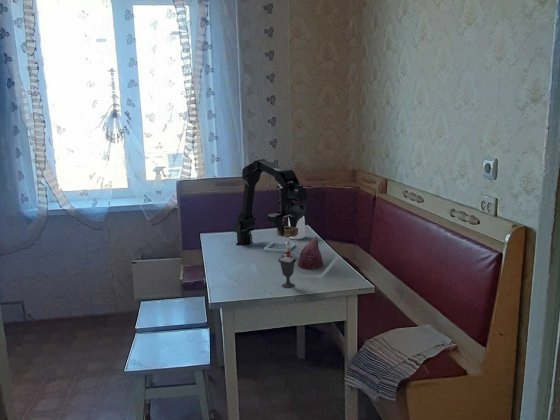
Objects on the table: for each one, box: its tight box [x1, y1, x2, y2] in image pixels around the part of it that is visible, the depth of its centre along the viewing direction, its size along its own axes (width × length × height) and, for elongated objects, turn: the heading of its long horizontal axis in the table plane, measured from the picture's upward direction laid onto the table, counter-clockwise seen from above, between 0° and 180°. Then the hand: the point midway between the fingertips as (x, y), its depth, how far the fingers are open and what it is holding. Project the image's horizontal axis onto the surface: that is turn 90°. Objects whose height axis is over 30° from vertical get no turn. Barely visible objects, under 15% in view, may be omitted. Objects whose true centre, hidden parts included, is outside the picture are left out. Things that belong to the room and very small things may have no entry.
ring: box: [276, 225, 298, 238], centre depth 215 cm, size 7×6×3 cm
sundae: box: [278, 248, 297, 289], centre depth 183 cm, size 7×7×15 cm
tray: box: [263, 241, 296, 253], centre depth 230 cm, size 11×11×2 cm
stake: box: [280, 240, 297, 259], centre depth 217 cm, size 7×7×8 cm
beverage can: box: [287, 215, 306, 240], centre depth 250 cm, size 8×8×12 cm
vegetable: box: [297, 235, 324, 271], centre depth 203 cm, size 10×10×15 cm
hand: (287, 234), depth 215 cm, fingers closed on ring, 6 cm apart
